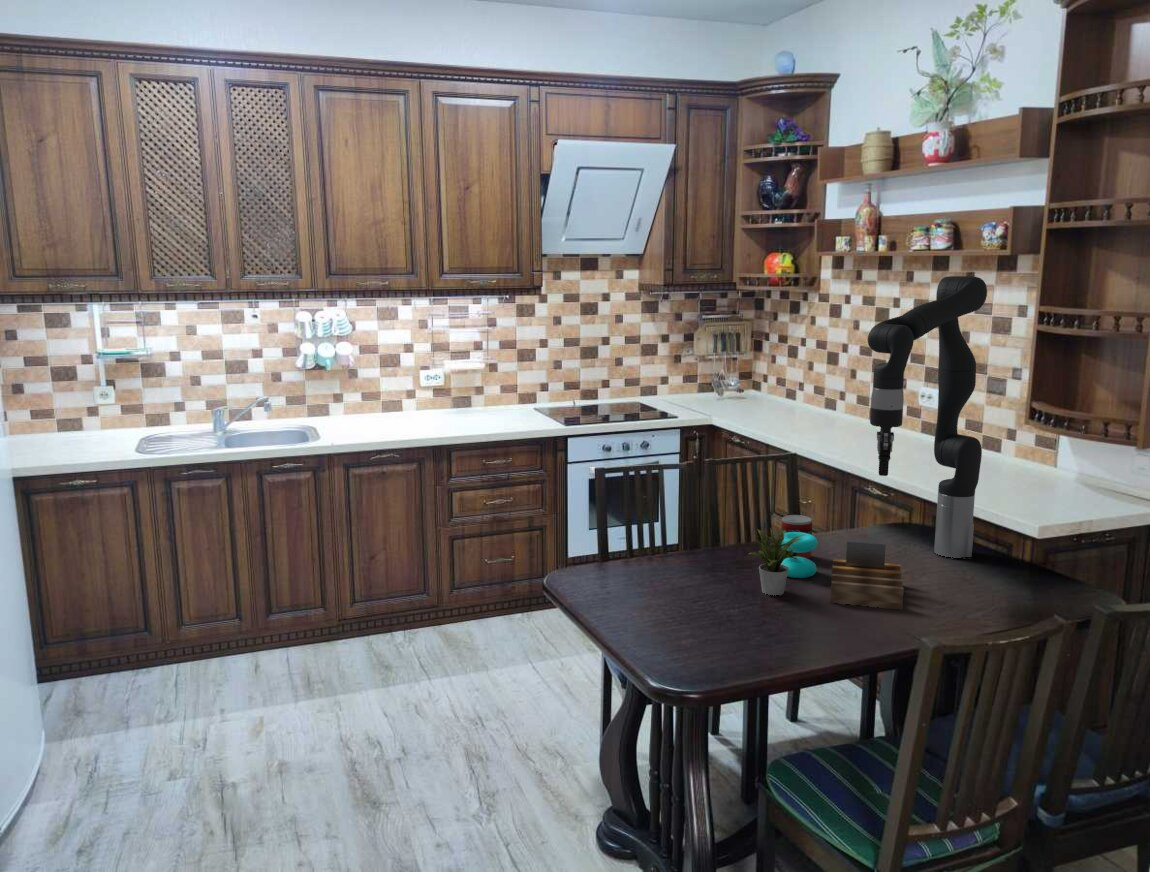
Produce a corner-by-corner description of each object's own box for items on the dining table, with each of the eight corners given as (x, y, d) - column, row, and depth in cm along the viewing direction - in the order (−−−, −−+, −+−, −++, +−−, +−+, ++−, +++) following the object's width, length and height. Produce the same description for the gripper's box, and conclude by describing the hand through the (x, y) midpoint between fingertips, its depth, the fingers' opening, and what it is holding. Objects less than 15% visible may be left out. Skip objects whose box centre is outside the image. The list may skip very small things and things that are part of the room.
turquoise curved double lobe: (780, 541, 230) (775, 530, 239) (779, 579, 231) (774, 566, 241) (820, 542, 229) (814, 530, 238) (819, 580, 230) (813, 567, 240)
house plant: (805, 606, 213) (808, 539, 210) (745, 602, 216) (747, 536, 213) (803, 585, 227) (805, 522, 224) (746, 582, 229) (748, 519, 226)
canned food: (775, 554, 251) (776, 516, 249) (801, 551, 253) (802, 513, 251) (790, 563, 244) (791, 523, 242) (816, 560, 246) (817, 520, 244)
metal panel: (883, 580, 225) (885, 541, 224) (883, 583, 223) (885, 544, 221) (845, 577, 228) (847, 538, 226) (845, 580, 226) (847, 541, 224)
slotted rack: (899, 584, 226) (900, 564, 226) (902, 609, 210) (903, 588, 209) (832, 578, 231) (833, 559, 230) (830, 603, 215) (831, 581, 214)
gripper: (904, 410, 216) (900, 482, 219) (901, 402, 228) (898, 470, 231) (871, 409, 218) (867, 480, 221) (870, 401, 230) (867, 468, 233)
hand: (883, 475), depth 226 cm, fingers closed
